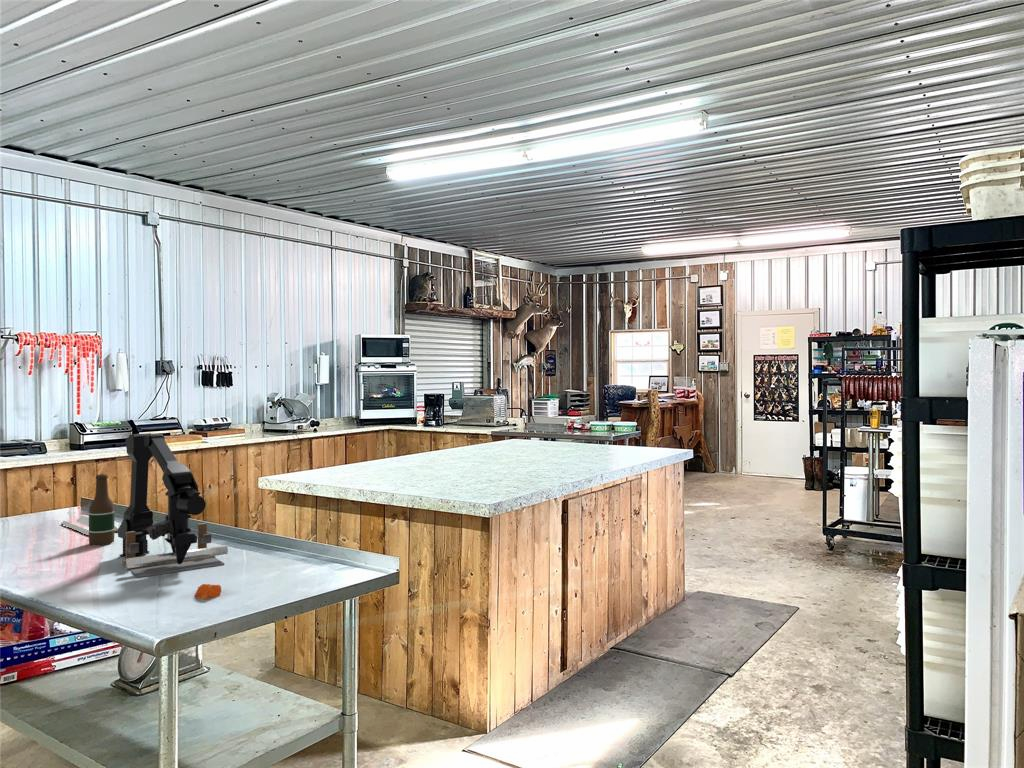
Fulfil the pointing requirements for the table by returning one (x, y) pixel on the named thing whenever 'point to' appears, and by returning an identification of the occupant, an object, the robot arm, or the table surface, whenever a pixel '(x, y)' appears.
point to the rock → (208, 591)
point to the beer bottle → (101, 514)
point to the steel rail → (172, 556)
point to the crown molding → (81, 520)
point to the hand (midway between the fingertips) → (178, 562)
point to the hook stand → (134, 548)
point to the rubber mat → (176, 567)
